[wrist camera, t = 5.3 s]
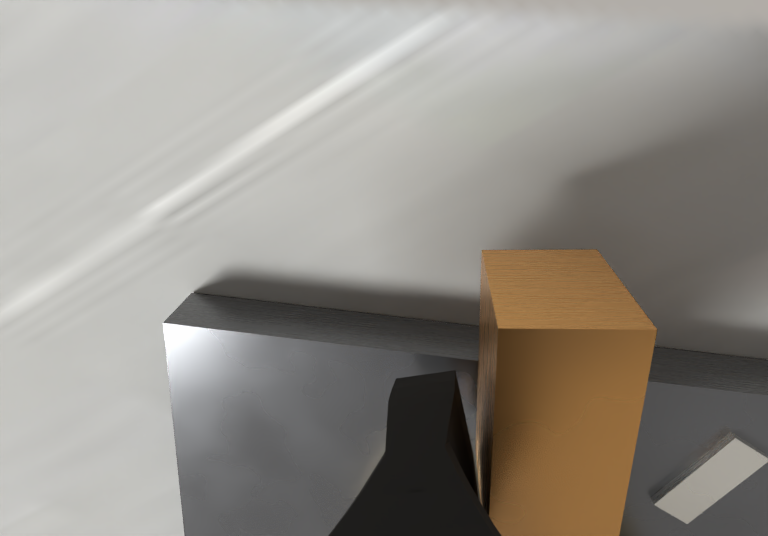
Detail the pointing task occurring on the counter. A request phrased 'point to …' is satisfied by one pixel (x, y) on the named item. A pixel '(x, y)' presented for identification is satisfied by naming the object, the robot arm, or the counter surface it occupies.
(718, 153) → the counter surface
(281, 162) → the counter surface
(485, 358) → the tan round handled piece
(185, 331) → the plate
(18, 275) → the counter surface
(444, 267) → the counter surface
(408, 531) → the robot arm
